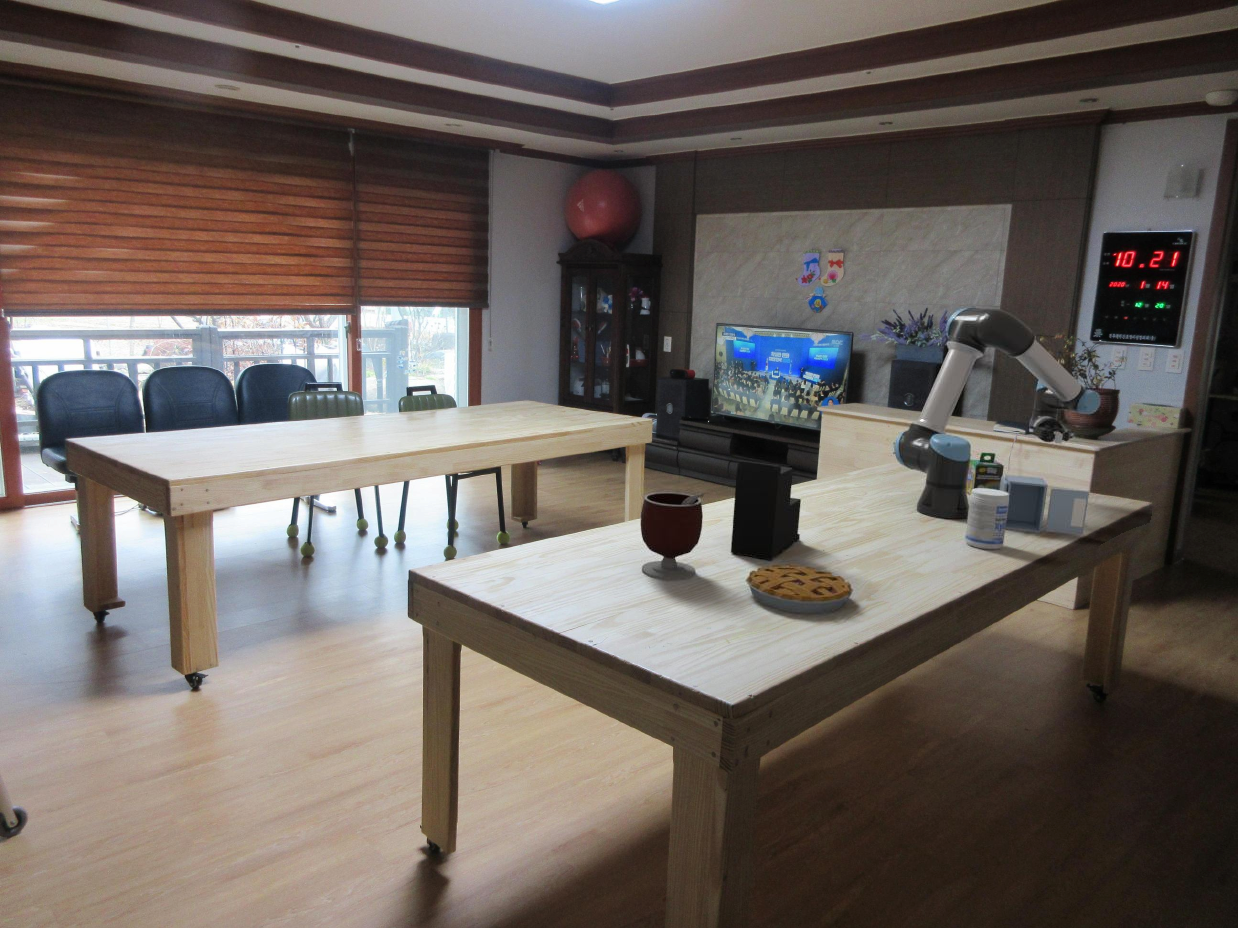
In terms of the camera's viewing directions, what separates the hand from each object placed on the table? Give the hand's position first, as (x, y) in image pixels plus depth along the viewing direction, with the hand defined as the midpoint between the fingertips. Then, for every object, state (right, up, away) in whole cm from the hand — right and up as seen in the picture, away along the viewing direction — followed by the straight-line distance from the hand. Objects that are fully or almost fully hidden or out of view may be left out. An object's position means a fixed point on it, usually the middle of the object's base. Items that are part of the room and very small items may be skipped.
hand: (1059, 438), depth 263 cm
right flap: (-5, -27, -13) cm, 30 cm away
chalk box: (-8, -18, +36) cm, 41 cm away
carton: (-14, -26, -5) cm, 30 cm away
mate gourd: (-119, -32, -62) cm, 138 cm away
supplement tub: (-34, -29, -27) cm, 52 cm away
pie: (-93, -36, -75) cm, 125 cm away
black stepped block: (-93, -29, -37) cm, 105 cm away
